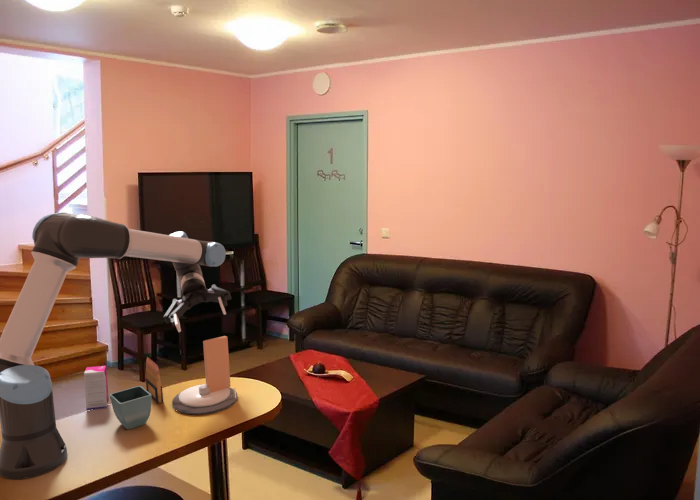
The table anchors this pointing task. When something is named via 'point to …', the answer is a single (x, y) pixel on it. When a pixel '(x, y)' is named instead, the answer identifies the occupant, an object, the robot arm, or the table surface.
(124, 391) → the flower pot
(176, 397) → the base
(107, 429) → the table surface
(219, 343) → the dial
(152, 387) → the ammunition clip
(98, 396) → the supplement box
